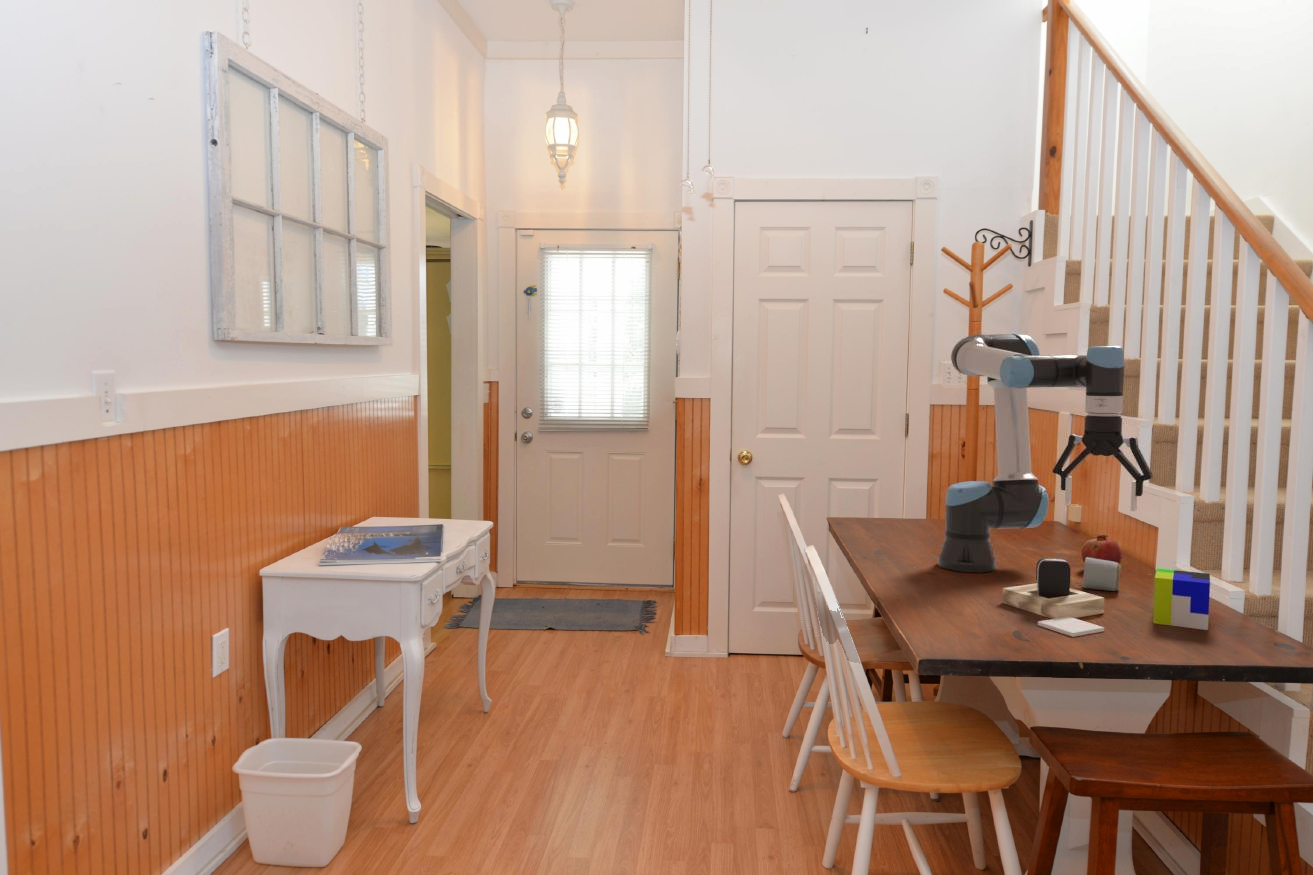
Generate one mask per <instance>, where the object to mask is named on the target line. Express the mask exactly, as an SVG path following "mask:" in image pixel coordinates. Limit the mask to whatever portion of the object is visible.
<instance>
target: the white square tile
mask: <svg viewBox="0 0 1313 875" xmlns="http://www.w3.org/2000/svg"><path fill="white" fill-rule="evenodd" d="M1037 626H1039V627H1042V628H1045V629H1049V630H1052V631H1054V632H1057V633H1061V634H1062V635H1067V636H1069V637H1073V638H1074V637H1079V636H1080V637H1081V636H1085V635H1090V634H1096V633H1101V632H1105V627H1103V626H1100V625H1097V624H1095V623H1091V622H1088V621H1084V620H1082V619H1081V620H1080V619H1078V618H1072V617H1069V616H1068V617H1062V618H1056V619H1051V618H1049V619H1045V620H1039V621H1037Z"/></svg>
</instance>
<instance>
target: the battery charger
mask: <svg viewBox="0 0 1313 875" xmlns="http://www.w3.org/2000/svg"><path fill="white" fill-rule="evenodd" d="M1035 580H1036V583H1037V595H1038V596H1041V597H1045V598H1048V599H1049V598H1056V597H1062V596H1069V592H1070V588H1071V565H1070V563H1069V561H1067V560H1065V559H1063V558H1040V559H1038V561H1037V562H1036V568H1035Z"/></svg>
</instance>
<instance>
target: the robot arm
mask: <svg viewBox="0 0 1313 875" xmlns="http://www.w3.org/2000/svg"><path fill="white" fill-rule="evenodd" d="M1039 350H1040V349H1039V347H1038V344H1037V343H1036V341H1035V340H1034V339H1033V338H1032V337H1031V336H1030V335H1027V334H1017V333H999V334H995V333H994V334H973V335H968V336H965V337H964V338H962V339H960V340H959V341H958V342H957V343H956V344H955V345H954V347H953V348H952V350H951V355H950V360H951V363H952V366H953V368H954V369H955V370H956V371H957V372H959V373H960V374H963V375H965V376H966V375H967V376H969V377H986V378H987V385H988V386H989V387H991V388H992V389H993V397H994V398H993V400H994V401H993V403H994V416H995V418H994V419H995V420H994V421H995V436H996V437H995V439H996V453H997V454H996V457H997V471H998V472H997V475H996V476H995V477H994V479H993V480H992V484H991V482H989V481H985V480H976V481H975V480H970V481H963V482H957V483H952V484H951V485H950V486H949V487H948V488H947V489H946V492H945V493H946V494H945V501H944V504H945V525H944V526H945V527H944V528H945V531H944V533H945V534H944V535H945V537H944V540H943V543H942V547H941V550H940V553H939V555H938V558H937V562H938V563H937V566H938V567H940V568H942V569H945V570H949V571H954V572H960V573H961V572H962V573H988V572H992V571H995V570H996V569H997V559H996V557H995V555H994V551H993V546H992V543H991V535H990V534H991V530H993V529H994V530H998V529H1000V530H1001V529H1008V530H1009V529H1021V530H1024V529H1028V528H1029V529H1030V528H1033V529H1034V528H1036V527H1038V526H1041V524H1042V523H1043V522H1044V521H1045V518H1046V517H1047V514H1048V512H1049V511H1048V510H1049V504H1050V502H1049V501H1050V500H1049V495H1048V492H1047V489H1046V488H1045V487H1044V486H1043V485H1040V484H1039V478H1038V477H1037V476H1036V475H1034V474H1033V472H1032V456H1031V438H1030V422H1029V405H1028V401H1029V400H1028V388H1030V389H1032V388H1085V405H1084V406H1085V407H1084V412H1085V413H1086V414H1087V415H1086V416H1084V432H1083V436H1082V435H1077V434H1075V433H1074V434H1073V433H1072V434H1070V435H1069V437H1068V440H1067V441H1068V442H1067V445H1066V447H1065V449H1064V450H1063V452H1061V453H1062V454H1061V455H1060V456H1059V458H1058V460H1057V462H1056V463H1055V466H1054V467H1053V469H1052V473H1053V474H1056V475H1059V476H1060V490H1061V491H1065V492H1064V493H1065V494H1064V497H1065V498H1064V506H1070V505H1072V491H1073V490H1072V489H1073V476H1070V474H1071V472H1073V471H1074V470H1075V469H1077V467H1078V466H1079V465H1080V464H1081V463H1082V462H1083V461H1084V460H1085V459H1086V458H1087V457H1088V456H1089V455H1090V454H1091V455H1093V456H1103V457H1110V456H1113V457H1114V458H1115V459H1117V460H1118V462H1119V463H1120V465H1122V466H1123V467H1124V469H1125V470H1126V471H1127V472H1128V473H1129V474H1130V476H1131V477H1132V478H1133V481H1131V492H1130V495H1131V496H1130V499H1131V500H1130V512H1135V511H1137V510H1138V509H1137V508H1138V505H1137V504H1138V497H1142V495H1143V494H1144V481H1148V480H1149V481H1150V480H1151V479H1152V478H1153V476H1154V474H1153V473H1152V471H1151V468H1150V467H1149V465H1148V463H1147V461H1146V459H1145V457H1144V455H1143V453H1142V452H1141V450H1140V447H1139V443H1138V442H1139V440H1138V437H1137V436H1132V437H1123V433H1122V432H1123V430H1122V428H1123V417H1122V416H1121V415H1120V414H1122V413H1123V409H1124V408H1123V406H1124V404H1123V403H1124V402H1123V401H1124V395H1123V394H1124V381H1125V380H1124V377H1125V365H1126V363H1125V362H1126V361H1125V350H1124V347H1122V346H1119V345H1113V346H1112V345H1110V346H1108V345H1106V346H1104V345H1103V346H1102V345H1101V346H1099V345H1097V346H1096V345H1095V346H1090V347H1089V348H1088V349H1087V350H1086V351H1087V352H1086V355H1082V354H1071V355H1041V354H1040V351H1039ZM1080 442H1082V444H1083V445H1084V446H1085V448H1084V449H1083V450H1082V451H1081V452H1080V454H1078V455H1077V457H1075V459H1073V460H1072V461H1071V463H1069V465H1067V466H1066V467H1065V464H1066V463H1067V461H1068V459H1069V457H1070V455H1071V454H1072V452H1073V450H1074V448H1075V447H1076V446H1077V445H1079V444H1080ZM1124 444H1125V445H1126V447H1127V448H1130V451H1131V453H1132V456H1133V457H1134V459H1135V461H1136V464H1137V465H1138V467H1139V469H1140V471H1141V472H1142V473H1140V472H1139V470H1138V469H1137V468H1136V467H1135V466H1134V465H1133V463H1132V462H1131V461H1130V460H1129V459H1128V458H1127V456H1126V455H1125V454H1124V453H1123V451H1122V450H1121V446H1122V445H1124ZM1063 467H1065V469H1063Z"/></svg>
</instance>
